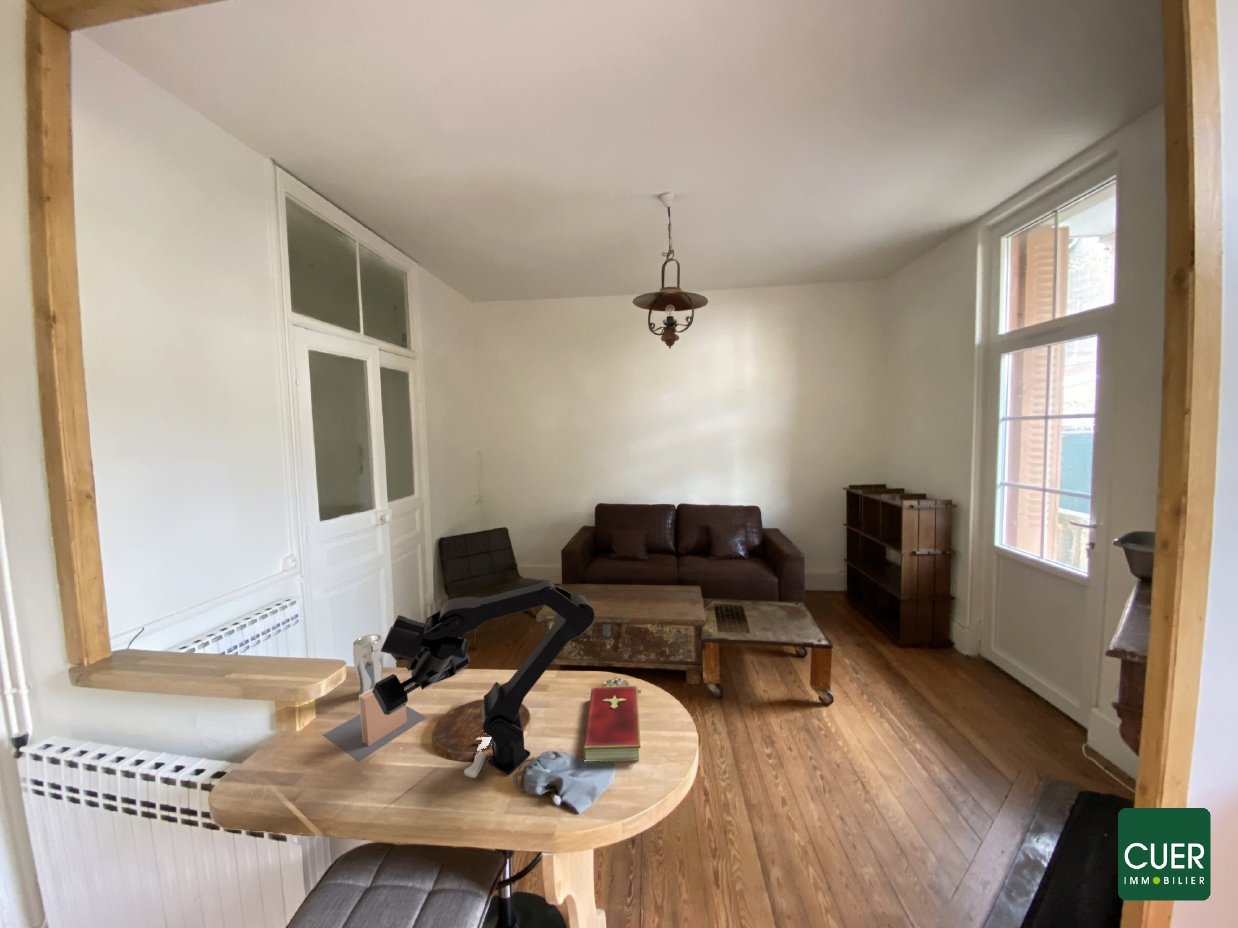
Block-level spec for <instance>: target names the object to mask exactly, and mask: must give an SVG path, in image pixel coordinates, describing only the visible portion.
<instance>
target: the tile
mask: <svg viewBox="0 0 1238 928" xmlns="http://www.w3.org/2000/svg"><path fill="white" fill-rule="evenodd" d="M396 676H397V678H398V679H399V681H400V683H403V682H404V678H403V677H401V676H399V675H396ZM372 691H373V689H371V690H369V691H367V692H365V693H363V694H361V695H359V694H358V702H359V711H360V712H359V714H360V715H361V726H362V736H363V742H364V743H365V744H367V745H368V746H369V745H371V744H373V743H374V742H376V741H377V740H379V739H381V738H382V737H384V736H385V735H387V734H389V733H390V732H392V731H393V730H395V729H396V728H398V727H400V726H401V725H403V724H404V723H406V722H407V717H406V706H407V705H405V706H403V707H401V708H400V709H398V710H396V711H395V712H393V713H391V714H390V715H386V714H384V713H383V711H382V709H381V707H380V705H379V703H378V702H377V700H376V698H375V696H374V694H373V692H372Z"/></svg>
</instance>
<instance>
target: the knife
mask: <svg viewBox="0 0 1238 928" xmlns="http://www.w3.org/2000/svg"><path fill="white" fill-rule="evenodd" d="M476 738H477V739H476ZM476 738H475V739H476V740H482V742H481V744H478V745H477V748H476V750H477V751H480V752H479V753H478V754H476V755H475V754H474V761H473V763H471V765H470V766H469V767H466V768H465V769H464V775H465V777H467V778H471V779H476V778H477V777H478V775H479V773H480V771H481V770H482V767H483V765H484V763H485V761H486V758H487V756H485V755H484V753H483V752H481V751H482V750H481V749H483V748H484V749H485V748H487V747H486V746H488V745H489V743H490V740H491V737H481V738H480V737H476Z"/></svg>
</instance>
